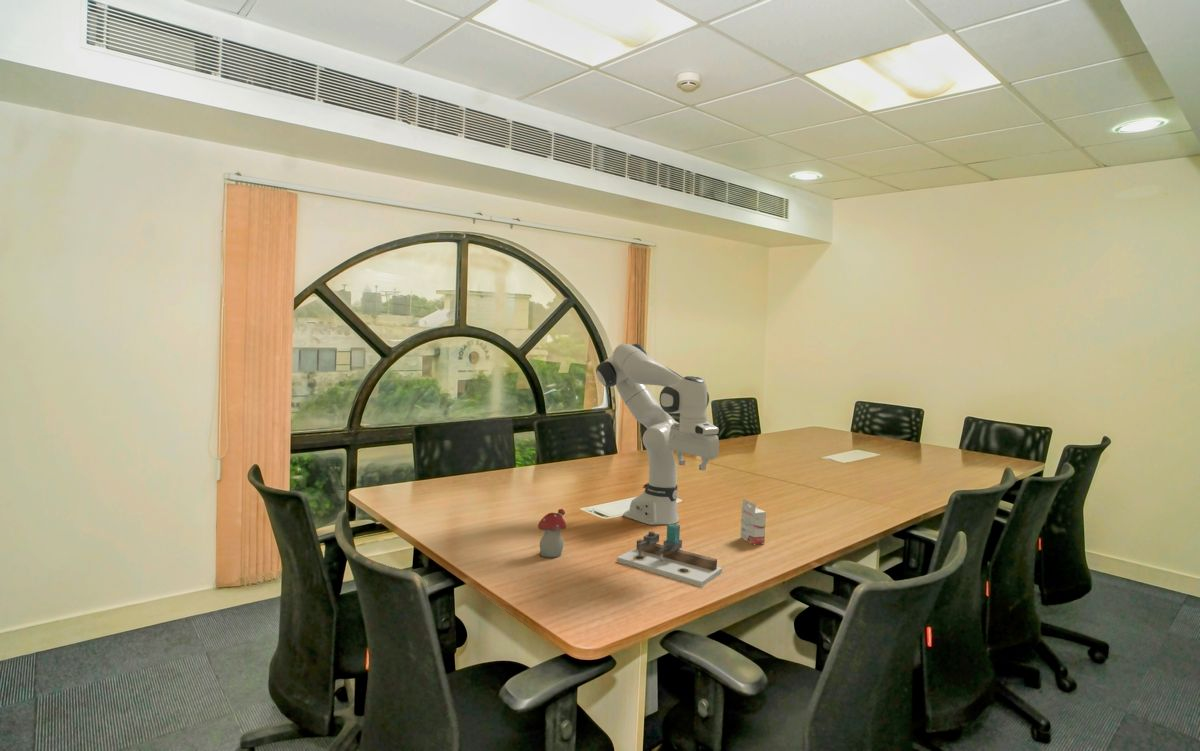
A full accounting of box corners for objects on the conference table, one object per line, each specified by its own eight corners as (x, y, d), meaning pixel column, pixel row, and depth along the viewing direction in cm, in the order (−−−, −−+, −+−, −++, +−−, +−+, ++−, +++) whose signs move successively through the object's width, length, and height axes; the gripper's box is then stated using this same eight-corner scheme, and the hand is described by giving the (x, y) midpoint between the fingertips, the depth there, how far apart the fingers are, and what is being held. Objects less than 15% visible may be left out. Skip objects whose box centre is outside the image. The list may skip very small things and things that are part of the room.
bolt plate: (616, 561, 190) (617, 556, 190) (640, 550, 202) (640, 545, 202) (701, 586, 173) (702, 581, 173) (722, 572, 184) (722, 567, 184)
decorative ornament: (565, 551, 198) (566, 507, 197) (566, 558, 192) (567, 512, 191) (537, 551, 197) (538, 507, 196) (537, 558, 191) (538, 512, 190)
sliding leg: (655, 559, 186) (656, 529, 185) (670, 551, 194) (671, 522, 194) (666, 562, 184) (667, 532, 183) (681, 554, 192) (682, 524, 191)
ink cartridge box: (765, 544, 212) (767, 503, 211) (753, 545, 210) (755, 504, 209) (751, 536, 220) (753, 497, 219) (739, 537, 218) (741, 498, 217)
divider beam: (625, 554, 192) (626, 534, 192) (641, 546, 201) (642, 527, 200) (704, 577, 176) (705, 555, 176) (718, 567, 184) (719, 546, 184)
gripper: (664, 423, 202) (663, 463, 202) (709, 430, 185) (707, 474, 186) (677, 421, 206) (676, 461, 206) (722, 429, 189) (721, 472, 190)
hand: (691, 467), depth 196 cm, fingers open, 8 cm apart
